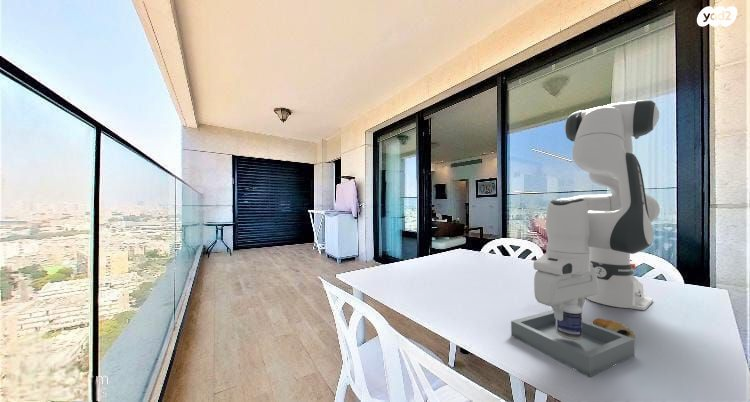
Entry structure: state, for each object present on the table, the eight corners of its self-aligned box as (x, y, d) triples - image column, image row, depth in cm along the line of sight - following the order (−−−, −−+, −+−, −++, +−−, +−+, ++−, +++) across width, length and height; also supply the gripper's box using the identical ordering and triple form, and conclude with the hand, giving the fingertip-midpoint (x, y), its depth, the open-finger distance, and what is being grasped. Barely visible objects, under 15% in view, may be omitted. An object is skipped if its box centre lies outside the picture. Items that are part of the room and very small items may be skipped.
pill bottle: (587, 341, 61) (586, 300, 61) (562, 339, 62) (561, 299, 62) (574, 330, 66) (573, 292, 66) (551, 328, 67) (550, 291, 67)
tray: (553, 323, 76) (553, 309, 76) (634, 356, 59) (634, 338, 59) (511, 335, 69) (511, 320, 69) (589, 377, 52) (589, 357, 52)
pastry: (585, 324, 75) (585, 311, 75) (611, 326, 74) (610, 313, 74) (610, 341, 66) (610, 326, 66) (639, 343, 65) (639, 328, 65)
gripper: (577, 255, 71) (578, 305, 71) (528, 263, 63) (529, 319, 63) (605, 260, 66) (606, 314, 65) (555, 269, 57) (556, 330, 57)
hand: (568, 316), depth 64 cm, fingers closed on pill bottle, 5 cm apart
